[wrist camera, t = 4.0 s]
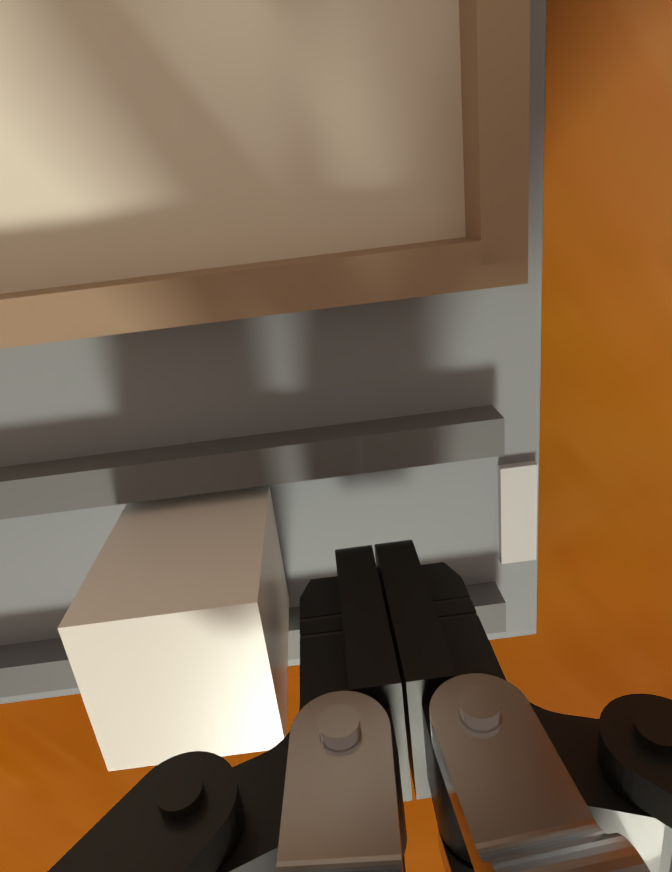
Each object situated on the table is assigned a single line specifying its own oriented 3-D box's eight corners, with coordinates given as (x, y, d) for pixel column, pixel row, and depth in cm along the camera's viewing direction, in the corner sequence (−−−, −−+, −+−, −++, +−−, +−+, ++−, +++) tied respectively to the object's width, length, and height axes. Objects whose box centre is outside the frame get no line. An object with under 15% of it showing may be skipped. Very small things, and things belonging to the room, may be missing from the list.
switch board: (505, -242, 10) (590, -421, 7) (509, 584, 17) (555, 669, 14) (-625, -116, 10) (-1013, -247, 7) (-181, 674, 16) (-287, 780, 13)
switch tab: (269, 483, 13) (257, 602, 9) (289, 599, 14) (286, 747, 10) (127, 501, 13) (57, 627, 9) (159, 616, 14) (108, 771, 10)
